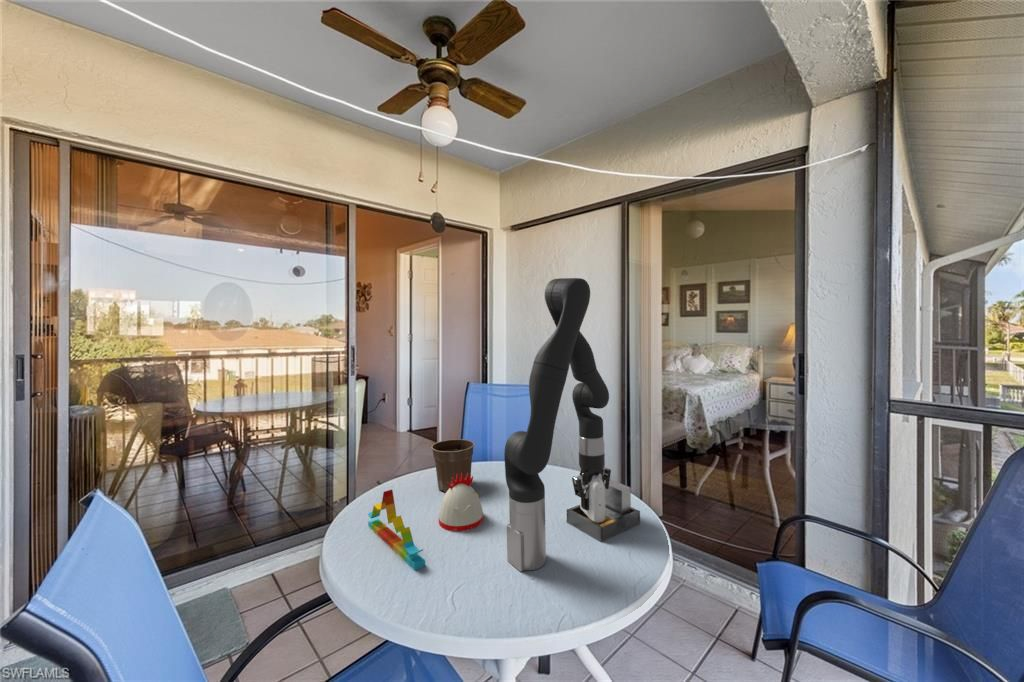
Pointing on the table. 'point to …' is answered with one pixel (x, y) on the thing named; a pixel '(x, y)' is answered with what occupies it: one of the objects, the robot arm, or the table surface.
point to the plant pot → (452, 461)
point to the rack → (608, 514)
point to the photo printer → (596, 500)
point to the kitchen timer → (460, 506)
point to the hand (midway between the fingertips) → (592, 506)
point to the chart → (400, 546)
